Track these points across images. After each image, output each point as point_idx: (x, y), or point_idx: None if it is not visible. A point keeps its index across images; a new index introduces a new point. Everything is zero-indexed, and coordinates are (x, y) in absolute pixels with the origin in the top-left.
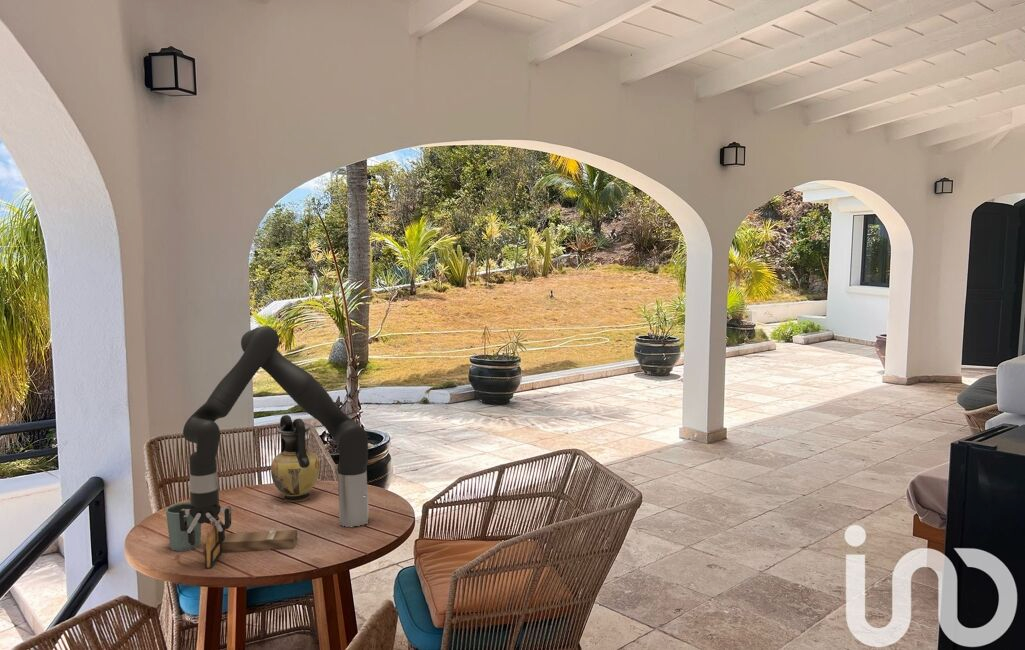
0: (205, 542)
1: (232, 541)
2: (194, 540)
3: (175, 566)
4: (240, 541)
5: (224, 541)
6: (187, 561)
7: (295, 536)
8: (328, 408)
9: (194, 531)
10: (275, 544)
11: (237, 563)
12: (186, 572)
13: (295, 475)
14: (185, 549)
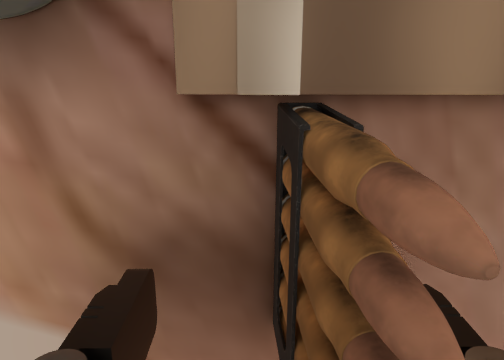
0: (191, 70)
1: (430, 81)
2: (146, 304)
3: (85, 274)
4: (501, 93)
5: (359, 72)
6: (129, 212)
7: None
8: None
9: (114, 353)
10: None
11: (448, 280)
12: (184, 355)
13: None
14: (25, 11)
